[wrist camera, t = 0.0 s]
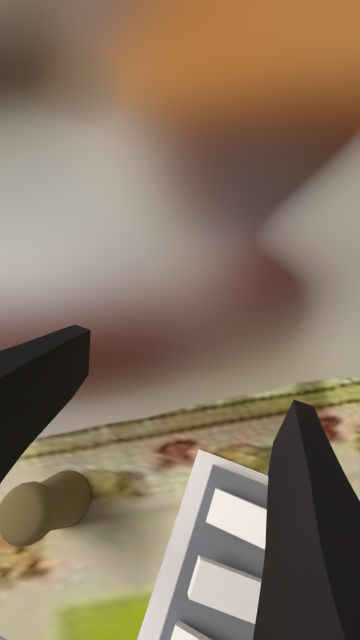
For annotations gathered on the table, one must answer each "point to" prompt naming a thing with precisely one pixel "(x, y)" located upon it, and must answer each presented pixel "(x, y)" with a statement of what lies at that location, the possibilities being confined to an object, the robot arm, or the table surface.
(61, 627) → the table surface
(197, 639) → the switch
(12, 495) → the cork
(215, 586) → the middle switch
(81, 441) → the table surface
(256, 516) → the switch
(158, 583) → the switch board
